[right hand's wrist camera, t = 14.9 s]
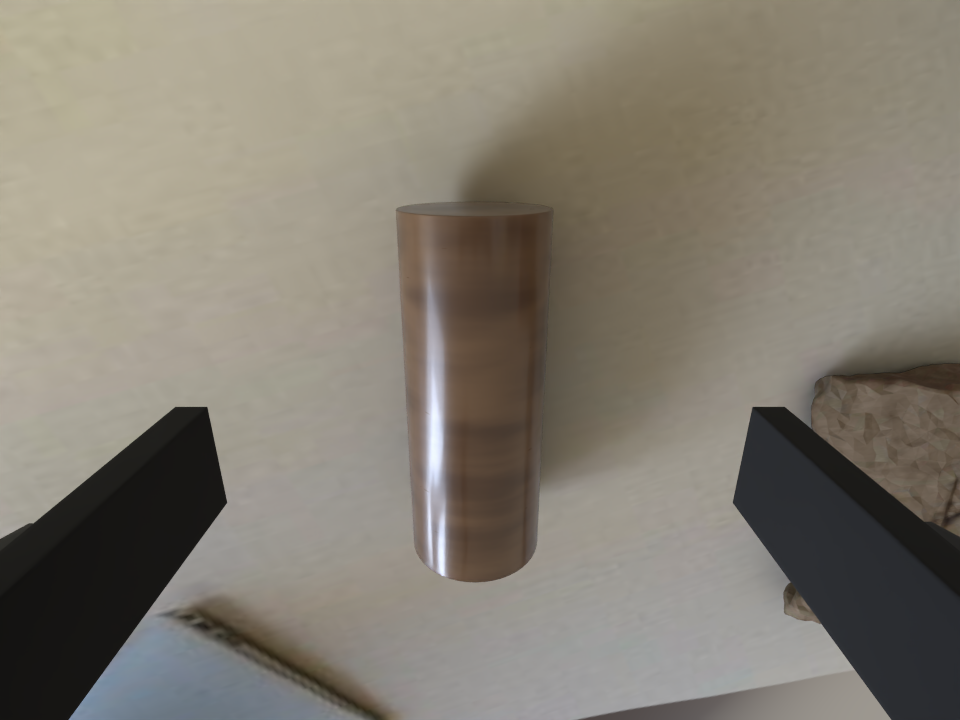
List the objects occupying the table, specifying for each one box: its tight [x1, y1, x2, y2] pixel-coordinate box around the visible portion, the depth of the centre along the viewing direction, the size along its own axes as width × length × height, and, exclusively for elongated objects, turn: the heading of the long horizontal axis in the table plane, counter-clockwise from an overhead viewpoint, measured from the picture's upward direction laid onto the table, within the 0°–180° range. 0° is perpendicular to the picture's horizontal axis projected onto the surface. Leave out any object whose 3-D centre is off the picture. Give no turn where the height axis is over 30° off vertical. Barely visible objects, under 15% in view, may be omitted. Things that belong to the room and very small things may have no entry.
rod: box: [396, 202, 553, 582], centre depth 33 cm, size 23×9×9 cm, turn 0°
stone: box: [784, 364, 960, 624], centre depth 39 cm, size 21×15×6 cm
